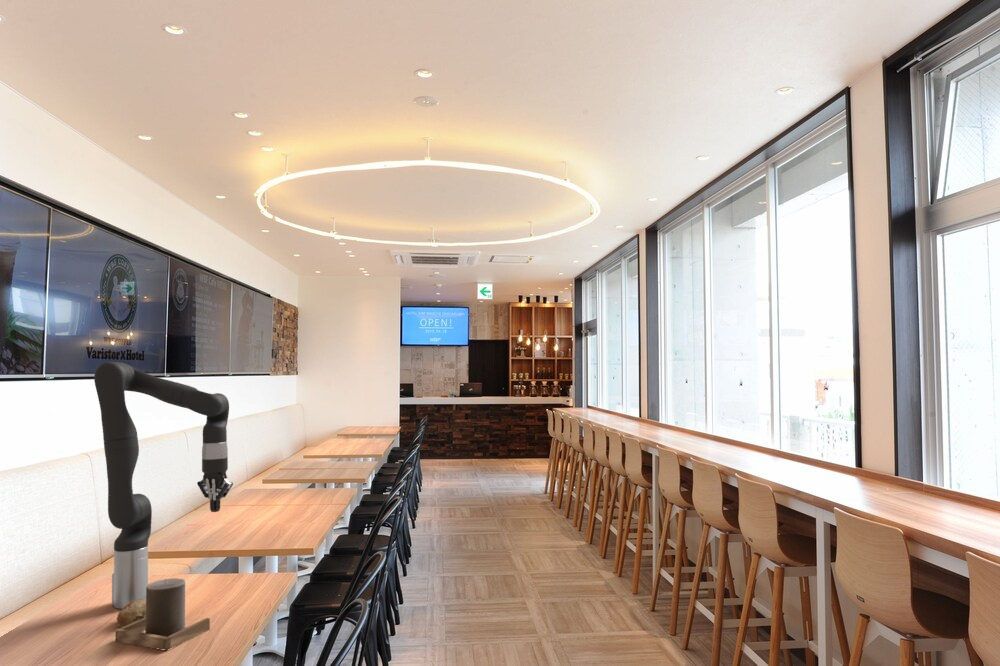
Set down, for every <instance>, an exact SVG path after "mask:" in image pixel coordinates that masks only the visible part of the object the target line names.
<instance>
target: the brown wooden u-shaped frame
mask: <svg viewBox="0 0 1000 666" xmlns="http://www.w3.org/2000/svg"><path fill="white" fill-rule="evenodd" d="M210 621H211V619H210V617H205V618H202V619H201V620H199V621H197V622H195V623H193V624H191V625H189V626H186V627H185V629H182V630H180V631H178V632H176V633H174V634H172V635H170V636H168V637H165V636H160V635H154V634H148V633H145V632H144V630H145V631H146V617H145V618H143V619H140V620H138V621H136V622H133V623H131V624H129V625H127V626H124V627H122V628H121V627H120V628H118V629H115V642H116V643H122V644H126V645H131V644H132V646H136V645H138V647H142V646H143V647H142V648H147V647H152V648H159V649H165V650H168V649H170V648H172V647H174V646H176V647H178V646H180V645H182V644H183V642H184V643H186V642H188V641H190V640H192V639H194V638H196V637H198V636H200V635H201V633H202V634H203V632H204V633H205V632H207V631H209V630H211V625H210V624H211V622H210ZM199 634H200V635H199ZM195 636H196V637H195ZM193 637H194V638H193ZM191 638H192V639H191ZM189 639H190V640H189ZM187 640H188V641H187ZM185 641H186V642H185ZM181 643H182V644H181ZM179 644H180V645H179ZM177 645H178V646H177ZM152 648H151V649H152ZM174 648H175V647H174ZM172 649H173V648H172ZM170 650H171V649H170ZM168 651H169V650H168Z"/></svg>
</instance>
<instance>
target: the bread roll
mask: <svg viewBox="0 0 1000 666" xmlns="http://www.w3.org/2000/svg"><path fill="white" fill-rule="evenodd" d="M145 617H146V600H135V601H132V602H130V603H129V604H127V605H126V606H125V607H124V608H123V609H121V610H120V612H118V614H117V616H116V625H118V627H120V628H121V627H124V626H127V625H129V624H131V623H133V622H136V621H138V620H140V619H143V618H145Z"/></svg>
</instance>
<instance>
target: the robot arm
mask: <svg viewBox="0 0 1000 666" xmlns="http://www.w3.org/2000/svg"><path fill="white" fill-rule="evenodd" d="M93 379H94V385H95V389H96V393H97V395H96V396H97V399H98V404H99V409H100V416H101V417H100V419H101V427H102V437H103V449H104V455H105V463H106V464H105V466H106V474H107V475H106V476H107V492H108V493H107V513H108V514H107V515H108V519H109V521H110V523H111V525H112V526H114V528H116V529H119V530H121V532H120V533H119V535H118V536H117V537H116V538H115V539H114V542H113V573H112V574H111V605H112V606H114V608H115V609H119V610H120V609H121V610H122V609H123V608H124V607H125V606H126V605H127V604H129V603H130V602H132V601H135V600H146V586H147V585H148V584H149V540H150V539H149V538H150V537H151V533H152V519H153V517H152V513H153V511H152V508H153V507H152V505H151V504H152V503H151V501H150V499H149V497H148V496H146V495H145V494H143V493H134V492H133V478H134V477H133V475H134V472H135V468H136V466H137V462H138V458H139V455H140V454H139V452H140V449H139V447H140V446H139V439H138V438H139V437H138V432H137V431H138V430H137V427H136V425H135V423H134V421H133V419H132V417H131V415H130V413H129V410H128V408H127V403H126V397H125V396H126V395H125V391H126V392H135V393H141V394H144V395H147V396H150V397H153V398H155V399H157V400H158V401H161V402H163V403H166V404H168V405H169V404H170V405H173V406H176V407H180V408H185V409H187V410H190V411H192V412H195V413H197V414H200V415H203V416H206V421H205V425H203V428H202V446H201V447H202V448H201V473H203V475H202V479H201V480H199V481H197V484H196V485H197V486H198V488H199V490H200V491H201V493H202V495H203V496H204V498H205V499H206V498H207V499H208V500H209V506H210V507H209V509H210V512H211V513H217V512H220V510H221V499H222V498H226V497H227V495H228V493H229V492H230V490H231V488H232V487H233V485H234V482H233V481H229V480H228V475H227V472H228V469H229V466H228V464H229V461H228V459H229V458H228V456H229V455H228V454H229V453H228V450H229V449H228V442H227V440H228V439H227V437H228V436H227V433H228V432H227V425H228V421H229V412H230V404H229V403H230V402H229V399H228V397H227V395H225V394H223V393H219V392H218V393H217V392H215V393H210V392H205V391H201V390H198V389H197V388H196V387H193V386H191V385H189V384H185V383H180V382H177V381H173V380H169V379H165V378H160V377H157V376H154V375H151V374H149V373H146V372H144V371H142V370H140V369H137V368H136V367H134V366H132V365H129V364H127V363H126V362H121V361H120V362H119V361H116V362H115V361H107V362H104V363H102V364H100V365H98V367H97V368H96V370H95V371H94V378H93Z"/></svg>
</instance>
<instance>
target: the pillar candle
mask: <svg viewBox="0 0 1000 666" xmlns="http://www.w3.org/2000/svg"><path fill="white" fill-rule="evenodd" d="M185 628H186V580H185V579H184V578H173V577H172V578H165V579H158V580H155V581H152V582H150V583H148V585H147V586H146V630H145V632H144V633H148V634H154V635H160V636H165V637H168V636H170V635H172V634H174V633H176V632H178V631H180V630H182V629H185Z"/></svg>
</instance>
